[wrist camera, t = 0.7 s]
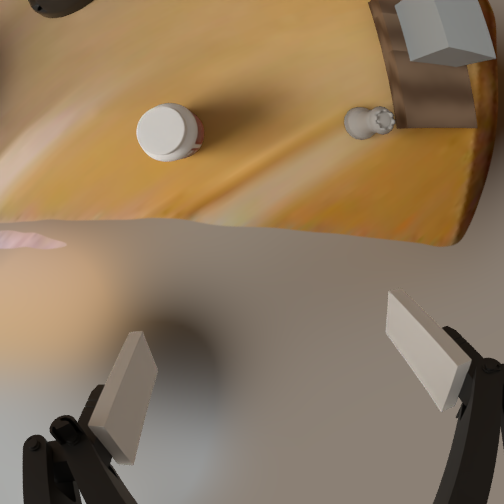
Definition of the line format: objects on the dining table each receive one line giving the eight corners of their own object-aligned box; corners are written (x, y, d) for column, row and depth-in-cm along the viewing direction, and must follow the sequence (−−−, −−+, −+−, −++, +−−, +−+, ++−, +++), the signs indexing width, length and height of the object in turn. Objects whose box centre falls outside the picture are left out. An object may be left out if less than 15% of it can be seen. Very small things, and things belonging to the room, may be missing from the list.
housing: (394, 5, 28) (427, -18, 19) (441, 15, 28) (477, -2, 19) (410, 61, 31) (449, 47, 22) (456, 67, 31) (496, 58, 22)
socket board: (368, 2, 30) (376, -5, 27) (440, 15, 30) (450, 10, 27) (397, 128, 37) (407, 128, 34) (465, 127, 37) (477, 128, 34)
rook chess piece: (352, 145, 37) (379, 146, 30) (337, 115, 36) (360, 109, 28) (378, 131, 37) (408, 130, 29) (363, 102, 35) (391, 94, 28)
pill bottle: (172, 103, 34) (149, 87, 24) (214, 124, 36) (206, 114, 25) (148, 145, 36) (117, 145, 25) (189, 167, 37) (172, 174, 27)
